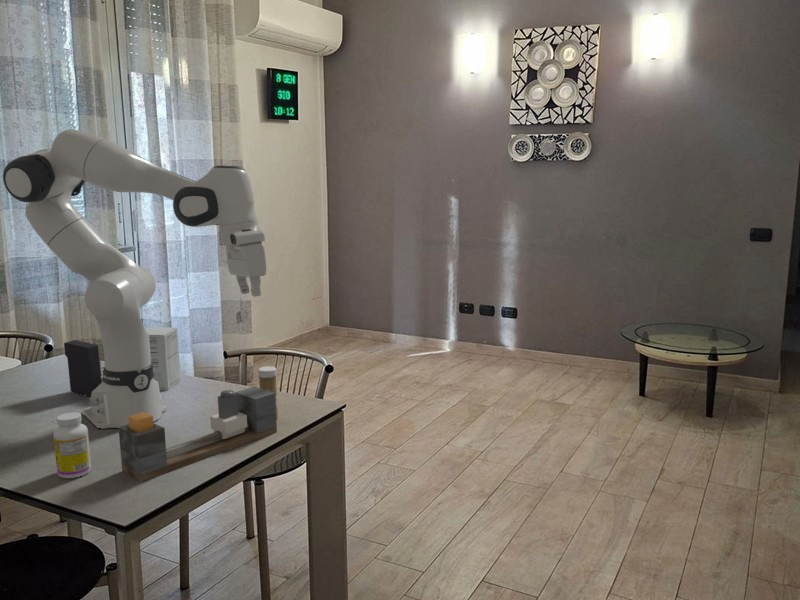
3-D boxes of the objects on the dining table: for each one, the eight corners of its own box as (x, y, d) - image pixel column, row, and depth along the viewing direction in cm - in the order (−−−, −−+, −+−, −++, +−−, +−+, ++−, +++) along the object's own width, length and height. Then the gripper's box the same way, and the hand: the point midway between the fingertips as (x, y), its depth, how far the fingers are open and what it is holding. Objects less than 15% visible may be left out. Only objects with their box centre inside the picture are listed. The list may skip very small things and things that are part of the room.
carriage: (211, 434, 168) (208, 392, 166) (232, 427, 172) (230, 386, 170) (226, 440, 164) (224, 398, 162) (247, 433, 168) (245, 391, 166)
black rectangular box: (105, 395, 202) (100, 344, 200) (91, 399, 199) (87, 347, 196) (82, 388, 208) (77, 339, 205) (68, 392, 205) (63, 342, 202)
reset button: (130, 439, 150) (128, 416, 149) (145, 434, 153) (143, 412, 152) (138, 443, 148) (137, 420, 147) (154, 438, 151) (152, 415, 150)
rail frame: (122, 471, 152) (118, 427, 150) (256, 424, 179) (254, 386, 177) (141, 481, 147) (138, 436, 145) (276, 431, 174) (275, 393, 172)
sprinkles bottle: (281, 419, 183) (279, 368, 180) (264, 422, 180) (262, 371, 178) (273, 413, 186) (271, 364, 184) (257, 417, 184) (255, 367, 181)
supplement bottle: (64, 466, 154) (58, 410, 152) (95, 465, 155) (90, 409, 153) (52, 480, 148) (46, 422, 145) (85, 479, 148) (79, 420, 146)
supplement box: (152, 380, 216) (148, 326, 213) (181, 380, 215) (178, 327, 212) (138, 389, 207) (133, 333, 204) (168, 390, 206) (164, 334, 203)
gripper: (216, 238, 170) (226, 294, 172) (238, 237, 152) (249, 300, 154) (242, 234, 173) (251, 289, 175) (266, 233, 155) (277, 294, 157)
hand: (250, 294), depth 164 cm, fingers open, 8 cm apart
